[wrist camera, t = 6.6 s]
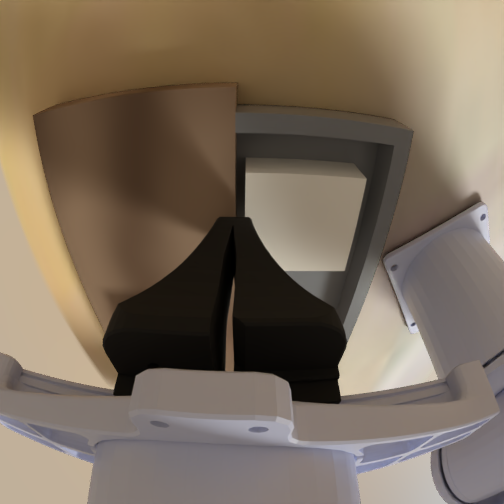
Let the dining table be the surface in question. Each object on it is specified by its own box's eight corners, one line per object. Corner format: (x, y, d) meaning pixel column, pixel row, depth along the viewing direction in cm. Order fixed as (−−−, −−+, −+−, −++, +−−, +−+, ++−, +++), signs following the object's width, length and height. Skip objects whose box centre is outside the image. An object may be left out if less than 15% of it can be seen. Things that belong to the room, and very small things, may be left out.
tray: (393, 119, 12) (413, 130, 10) (329, 352, 23) (333, 372, 21) (237, 104, 12) (235, 112, 10) (238, 354, 23) (238, 376, 21)
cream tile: (353, 163, 13) (366, 178, 12) (336, 249, 16) (344, 270, 15) (245, 157, 13) (245, 172, 11) (244, 248, 16) (244, 270, 14)
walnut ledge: (237, 82, 11) (235, 87, 10) (238, 361, 23) (238, 382, 22) (55, 104, 11) (32, 115, 9) (132, 354, 23) (128, 374, 21)
